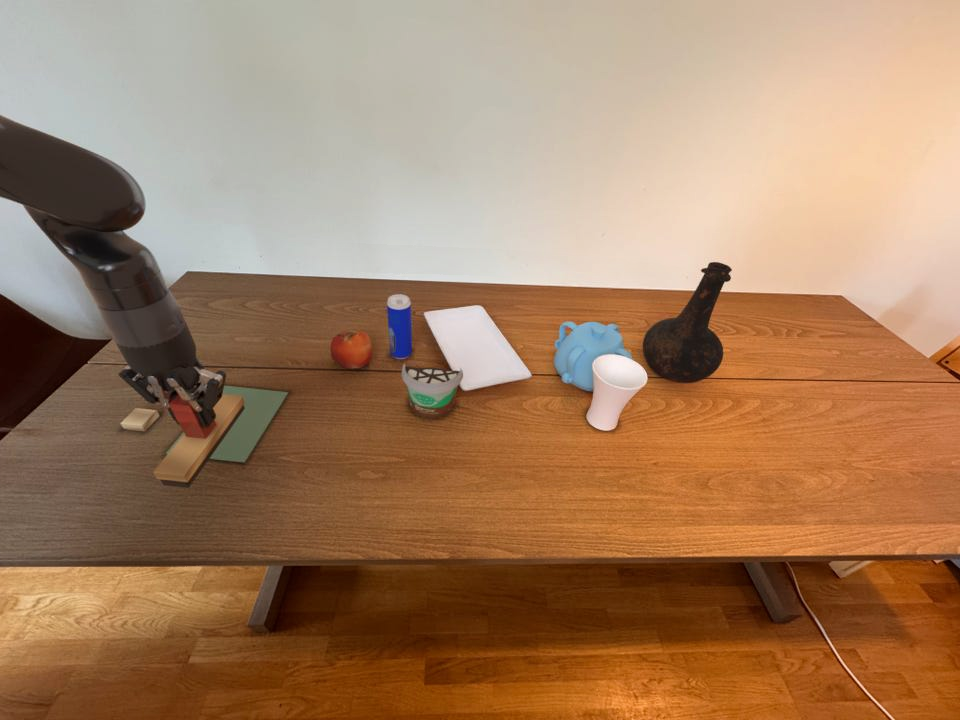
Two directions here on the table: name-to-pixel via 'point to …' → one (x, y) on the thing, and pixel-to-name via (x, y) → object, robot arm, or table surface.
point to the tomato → (351, 349)
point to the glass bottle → (689, 334)
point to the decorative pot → (585, 351)
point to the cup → (613, 388)
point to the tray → (475, 347)
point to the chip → (140, 419)
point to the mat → (247, 422)
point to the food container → (431, 390)
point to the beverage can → (399, 326)
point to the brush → (196, 440)
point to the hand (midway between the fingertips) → (196, 421)
